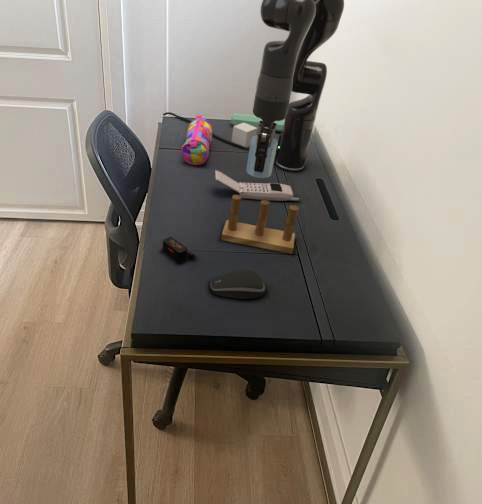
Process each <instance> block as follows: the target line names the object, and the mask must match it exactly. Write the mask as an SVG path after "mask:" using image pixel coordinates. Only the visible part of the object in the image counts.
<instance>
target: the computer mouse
mask: <svg viewBox="0 0 482 504" xmlns="http://www.w3.org/2000/svg"><path fill="white" fill-rule="evenodd" d="M209 285H210V290H211V292H212V294H214V295H215V296H218V297H223V298H229V299H238V300H251V299H257V298H260V297H263V296H264V295H265V293H266V285H265V283H264V281H263V279H262V277H261V276H260V275H259V274H258V273H256V272H255V271H253V270H250V269H245V268H241V269H234V270H231V271H229V272H226V273H223V274H220V275H217V276H214V277H212V278H211V280H210V283H209Z"/></svg>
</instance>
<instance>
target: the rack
mask: <svg viewBox="0 0 482 504" xmlns="http://www.w3.org/2000/svg"><path fill="white" fill-rule="evenodd" d="M241 203H242V198H241V196H240V194H233V195H232V198H231V203H230V210H229V217H228V219H226V221H225V223H224V226H223V229H222V233H221V239H220V240H221V241H225V242H228V243H229V242H230V243H234V244H240V245H243V246H249V247H254V248H260V249H265V250H269V251H274V252H280V253H285V254H290V255H293V253H294V247H295V239H296V238H295V237H296V233H295V232H294V229H295V224H296V220H297V217H298V213H299V207H298V206H297V205H294V204H293V205H292V204H291V205H290V206H289V207H288V211H287V215H286V220H285V225H284V228H283V230H281V229H275V228H271V227H266V223H267V218H268V214H269V209H270V204H271V203H270V200H260V202H259V203H260V205H259V209H258V214H257V219H256V224H249V223H245V222H239V221H238V220H239V215H240V209H241Z"/></svg>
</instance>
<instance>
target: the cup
mask: <svg viewBox="0 0 482 504" xmlns="http://www.w3.org/2000/svg"><path fill="white" fill-rule="evenodd" d="M256 139H257V135H256V136H254V137H252V139H251V144H250V146H249V148H250V150H248V156H247V162H246V168H245V169H246V170H245V172H246V173H247V175H250V176H251V177H253V178H258V179H267V178H270V177H271V176H272V173H273V169H274V168H273V167H274V164H275V161H274V160H275V154H276V149H277V144H278V140H277V139H276V138H274V137H273V139H272V144H271V147H270V148H268V152H267V154H268V155H267V157H266V160H265V166H264V171H263V172H256V171H254V166H255V160H256V157H255V153H256V147H257V145H256ZM269 141H270V140H269ZM259 151H261V152H265V149H260V148H259Z"/></svg>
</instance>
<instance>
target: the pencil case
mask: <svg viewBox="0 0 482 504" xmlns="http://www.w3.org/2000/svg"><path fill="white" fill-rule="evenodd" d="M191 121H192V122H191V123H190V122H189V124H188V125H186V126H185V130H184V131H185V132H187V133H186V134H185V135H186V136H185V142H184V143H183V144H182V146H181V148H180V149H181V150H180V151H181V156H182V159H183V160H184V161H185V162H186V163H187V164H189V165H190V166H191V165H192V166H201V165H203V164H205V163H206V162H207V161H208V159H209V155H210V146H211V143H212V140H213V135H212V133H213V125H212V123H211V121H210V120H208V119H206V118H203V114H196V115H195V119H193V120H191Z"/></svg>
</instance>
